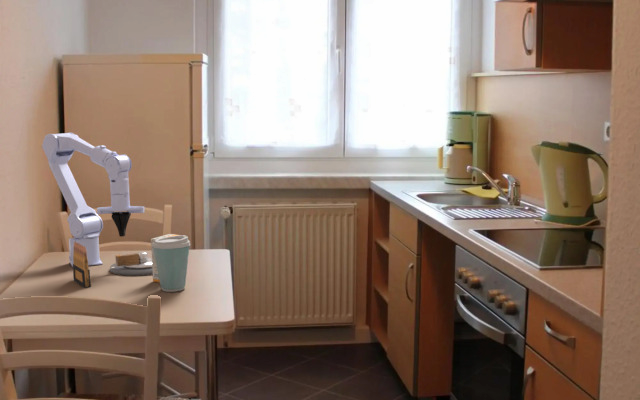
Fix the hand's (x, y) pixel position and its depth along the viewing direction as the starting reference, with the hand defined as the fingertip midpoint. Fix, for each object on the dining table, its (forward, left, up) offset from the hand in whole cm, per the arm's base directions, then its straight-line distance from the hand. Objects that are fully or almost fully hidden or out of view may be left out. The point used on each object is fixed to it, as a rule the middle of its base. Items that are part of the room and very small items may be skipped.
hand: (122, 235), depth 244 cm
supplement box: (+9, -21, -11) cm, 25 cm away
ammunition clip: (-15, -15, -11) cm, 24 cm away
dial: (+4, -3, -9) cm, 11 cm away
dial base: (+5, -3, -10) cm, 12 cm away
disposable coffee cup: (+8, -33, -11) cm, 36 cm away
